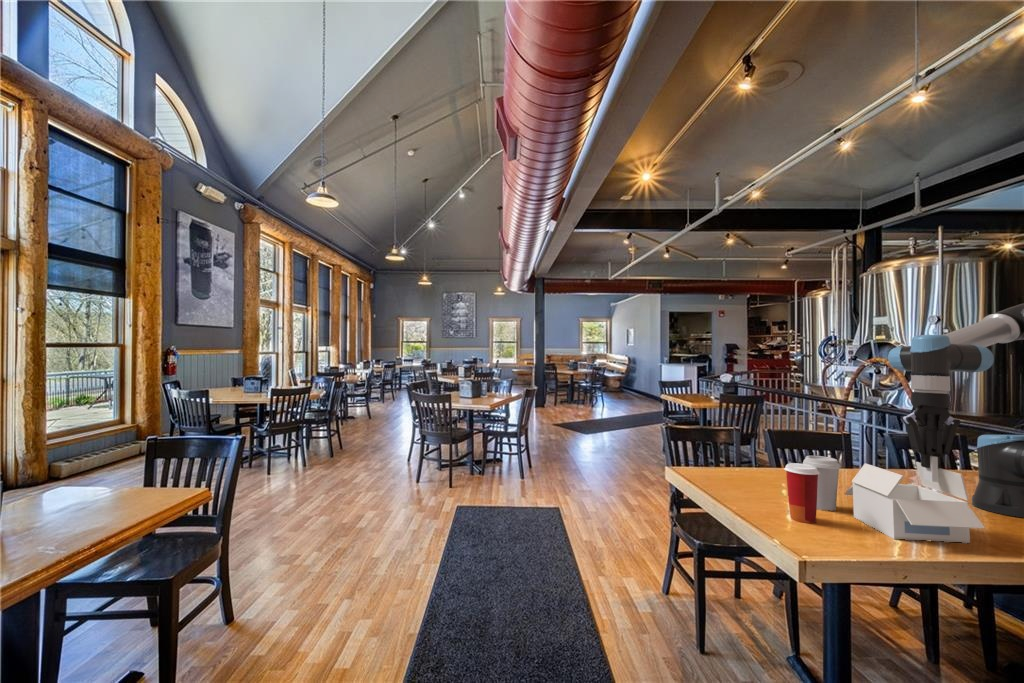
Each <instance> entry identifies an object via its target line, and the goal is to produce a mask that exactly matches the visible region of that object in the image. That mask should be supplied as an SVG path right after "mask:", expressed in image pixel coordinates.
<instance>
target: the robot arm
mask: <svg viewBox="0 0 1024 683" xmlns="http://www.w3.org/2000/svg"><path fill="white" fill-rule="evenodd" d="M1021 340H1024V303H1020V304H1017V305H1014V306H1010V307H1007V308H1005V309H1003V310H1000V311H996V312H994V313H991V314H987V315H986V316H984V317H983V318H982V319H981V321H978V322H976V323H973V324H971V325H970V324H969V325H967V326H965V327H961V328H958V329H955V330H953V331H950V332H948V333H945V334H918V335H913V337H912V338H911V342H910V343H911V344H910V345H909V346H906V345H902V346H896V347H894V348H892V349H890V351H889V352H888V355H887V361H888V363H889V365H890V367H891V368H892V369H894V370H896V371H906V372H910V374H911V375H910V388H911V390H912V391H911V393H910V403H911V405H912V409H910V413H909V414H907V415H906V416H905V415H902V416H900V420H901V421H902V422H903V423H904V426H905V429H906V432H907V436H908V439H909V444H910V448H911V451H912V452H916V453H917V454H919V455H920V463H921V466H922V467H924V479H926V480H929V481H932V482H938V469H939V468H941V458H945V456H946V455H950V453H951V449H952V445H953V441H954V438H955V435H956V431H957V428H958V427H959V426H960V424H961V420H960V419H956V418H953V416H951V412H950V411H949V408H950V407H951V395H950V394H949V393H950V391H951V373H952V372H957V373H958V372H960V373H981V372H984V371H987V370H989V369H990V368H991V367H992V366H993V364H994V360H995V358H994V354H993V352H992V351H991V349H989V348H988V347H990V346H993V345H995V344H998V343H999V344H1008V343H1011V342H1015V341H1021ZM948 392H949V393H948ZM976 451H977V465H978V482H977V485H976V487H975V491H974V494H973V495H972V496H971V504H972V506H974V507H976V508H978V509H981V510H985V511H987V512H991V513H996V514H1000V515H1005V516H1009V517H1015V516H1016V517H1017V518H1022V517H1023V518H1024V434H981V435H979V436H978V437H977V445H976ZM1023 518H1022V519H1023Z"/></svg>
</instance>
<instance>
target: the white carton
mask: <svg viewBox="0 0 1024 683" xmlns="http://www.w3.org/2000/svg"><path fill="white" fill-rule="evenodd" d="M844 495H847V496H852V503H853V504H852V505H853V509H852V510H853V519H855V518H856V519H855V520H857V519H858V520H857V521H859V520H860V521H862V522H864V523H865V524H864V523H863V524H864V525H866V524H867V526H868V525H869V526H868V527H870V526H871V527H870V528H872V527H873V528H872V529H874V528H875V529H874V530H876V531H877V530H878V532H879V531H880V533H881V532H882V533H881V534H883V533H884V535H885V536H887V537H889V538H891V539H893V540H896V539H905V540H904V541H914V540H931V541H944V542H943V543H949V542H962V543H961V544H967V543H970V544H971V535H970V534H971V533H970V529H976V530H977V529H978V530H980V529H981V530H985V528H986V527H985V526H984V524H983V523H982V521H980V519H979V518H978V516H977V515H976V514H975V512H974V511H973V510H972V509H971V507H970V506H969V502H968V501H966V500H965V501H964V500H963V499H960V498H957V497H954V496H951V495H948V494H946V493H943V492H940V491H937V490H934V489H931V488H928V487H925V486H922V485H916V484H907V483H899V484H898V485H897V487H896V488H895V489H894V491H893V492H892V493H891V495H890V496H889V497H888V496H885V495H883V494H880V493H878V492H875V491H873V490H871V489H868V488H866V487H863V486H861V485H858V484H856V483H853V482H852V484H851V486H850V487H849V488H848V489H847V490H846V491H845V492H844ZM860 521H859V522H860ZM862 522H861V523H862ZM931 541H930V542H931Z"/></svg>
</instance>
